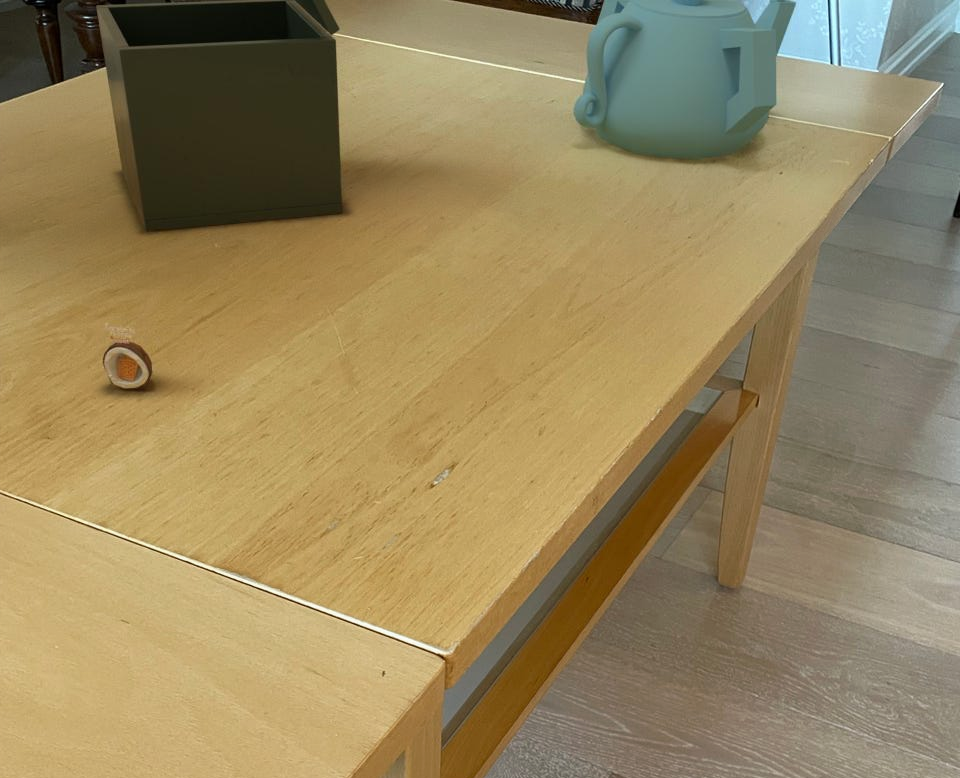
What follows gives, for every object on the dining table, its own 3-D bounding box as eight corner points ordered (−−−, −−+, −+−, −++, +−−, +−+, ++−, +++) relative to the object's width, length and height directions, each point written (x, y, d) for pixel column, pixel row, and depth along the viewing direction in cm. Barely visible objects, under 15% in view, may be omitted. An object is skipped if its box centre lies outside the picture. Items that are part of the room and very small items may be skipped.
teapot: (752, 177, 104) (784, 5, 95) (547, 149, 108) (559, -18, 99) (774, 119, 118) (803, -35, 109) (591, 96, 122) (605, -54, 113)
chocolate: (165, 378, 71) (156, 317, 68) (150, 395, 69) (140, 333, 67) (119, 372, 71) (108, 311, 69) (104, 389, 70) (92, 327, 67)
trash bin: (146, 231, 89) (119, 49, 80) (122, 173, 98) (96, 5, 90) (342, 213, 93) (336, 39, 85) (301, 158, 103) (292, -2, 94)
